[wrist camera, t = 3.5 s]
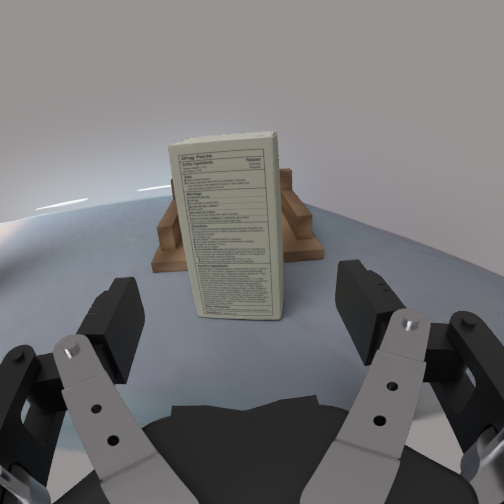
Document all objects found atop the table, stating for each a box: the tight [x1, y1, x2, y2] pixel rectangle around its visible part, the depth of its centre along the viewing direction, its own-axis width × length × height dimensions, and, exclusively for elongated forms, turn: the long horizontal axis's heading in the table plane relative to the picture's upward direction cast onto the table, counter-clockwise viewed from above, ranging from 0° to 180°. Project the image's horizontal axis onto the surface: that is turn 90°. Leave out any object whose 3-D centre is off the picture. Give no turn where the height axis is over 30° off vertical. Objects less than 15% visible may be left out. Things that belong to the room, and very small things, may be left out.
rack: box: [151, 169, 324, 273], centre depth 34 cm, size 16×14×6 cm
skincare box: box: [168, 131, 284, 320], centre depth 21 cm, size 6×4×12 cm
